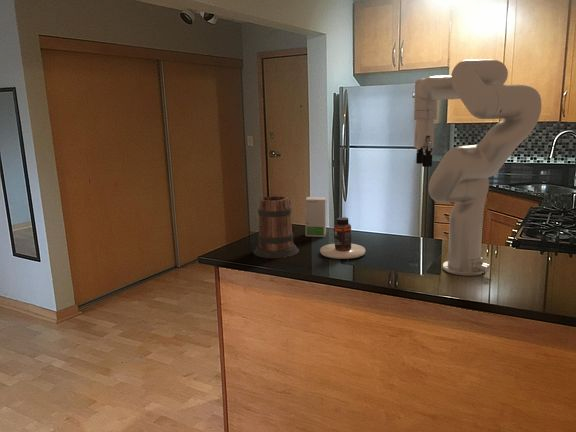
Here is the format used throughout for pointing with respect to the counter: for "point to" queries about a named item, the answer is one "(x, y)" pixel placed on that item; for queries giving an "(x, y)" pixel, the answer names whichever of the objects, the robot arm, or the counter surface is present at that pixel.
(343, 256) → the plate
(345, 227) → the supplement bottle
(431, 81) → the robot arm
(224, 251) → the counter surface
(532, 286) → the counter surface
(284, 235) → the tankard
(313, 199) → the skincare box
